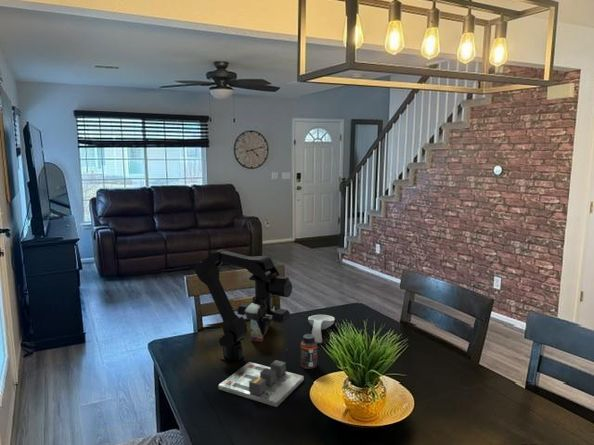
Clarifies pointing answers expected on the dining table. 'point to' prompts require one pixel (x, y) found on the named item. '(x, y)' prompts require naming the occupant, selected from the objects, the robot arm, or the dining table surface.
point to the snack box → (255, 332)
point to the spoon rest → (320, 325)
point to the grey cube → (257, 385)
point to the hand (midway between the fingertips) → (263, 335)
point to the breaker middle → (268, 376)
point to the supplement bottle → (308, 352)
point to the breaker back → (278, 367)
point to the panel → (273, 393)
